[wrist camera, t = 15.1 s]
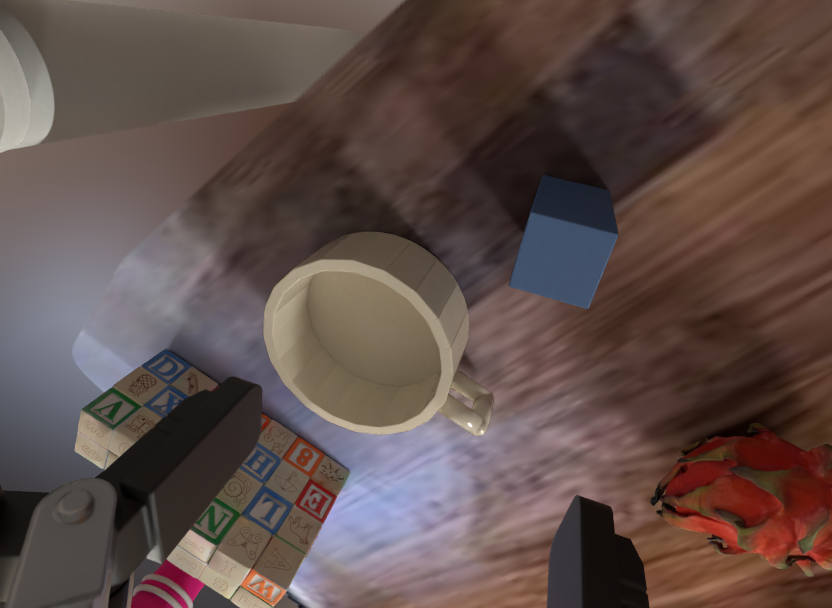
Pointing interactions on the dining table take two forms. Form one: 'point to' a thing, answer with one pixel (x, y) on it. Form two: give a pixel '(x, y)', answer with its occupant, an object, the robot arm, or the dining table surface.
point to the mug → (374, 337)
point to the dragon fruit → (754, 497)
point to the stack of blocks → (239, 499)
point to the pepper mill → (166, 589)
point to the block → (566, 242)
